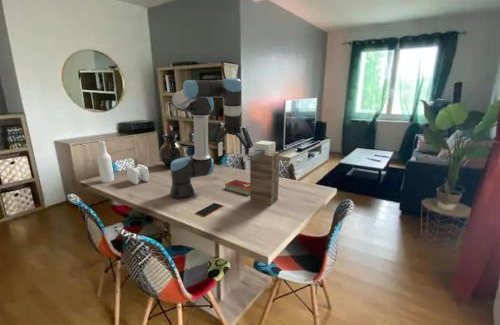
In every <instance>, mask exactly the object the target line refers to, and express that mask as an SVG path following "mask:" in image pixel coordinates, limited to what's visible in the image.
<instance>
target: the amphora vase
mask: <svg viewBox="0 0 500 325" xmlns="http://www.w3.org/2000/svg"><path fill="white" fill-rule="evenodd" d="M162 137H163V138H164V140H165V142H163V144H162V145H161V147H160V149H159V152H158V157H159V159H160V161H161V162H162V163H163V164H162V167H164V168H166V169H171V162H172V161H174V160H176V159H179V158H185V150H184V148H183V146H182V145H181V144H180V142H178V141H177V137H179V135H178V134H177V133H165V134H163V135H162Z"/></svg>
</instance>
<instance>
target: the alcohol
mask: <svg viewBox="0 0 500 325" xmlns="http://www.w3.org/2000/svg"><path fill="white" fill-rule="evenodd" d="M98 147H99V153H98V155H97V159H96V160H97V166H98V171H99V178H100V181H101V183H103V184H105V183H111V182H114V181H115V176H114V170H113V169H114V168H113V162H112V157H111V155H110V154H109V153H108V151H107V150H108V149H107V146H106V141H105V140H99V141H98Z"/></svg>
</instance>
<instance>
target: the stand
mask: <svg viewBox="0 0 500 325" xmlns="http://www.w3.org/2000/svg"><path fill="white" fill-rule="evenodd" d="M249 168H250V169H249V171H250V174H249V175H250V176H249V180H250V182H249V183H250V195H249V197H250V198H249V199H250V202H255V203H258V204H263V205H267V206H272V205H273V204H275V203H276V202H277V201H278V200H279V183H280V182H279V180H280V177H279V176H280V152H279V151H275V152H274V153H272V154H270V155H263V156H261V157H258V158H256V159H254V160H249Z"/></svg>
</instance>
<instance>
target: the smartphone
mask: <svg viewBox="0 0 500 325" xmlns="http://www.w3.org/2000/svg"><path fill="white" fill-rule="evenodd" d="M222 208H224V205H223V204H220V203H216V202H214V203H211V204H209V205H208V206H205V207H203V208H202V209H200V210H198V211H196V212H195V213H194V214H195V215H197V216H200V217H202V218H206V217H207V216H209V215H211V214H212V213H215V212H216V211H219V210H220V209H222Z"/></svg>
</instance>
